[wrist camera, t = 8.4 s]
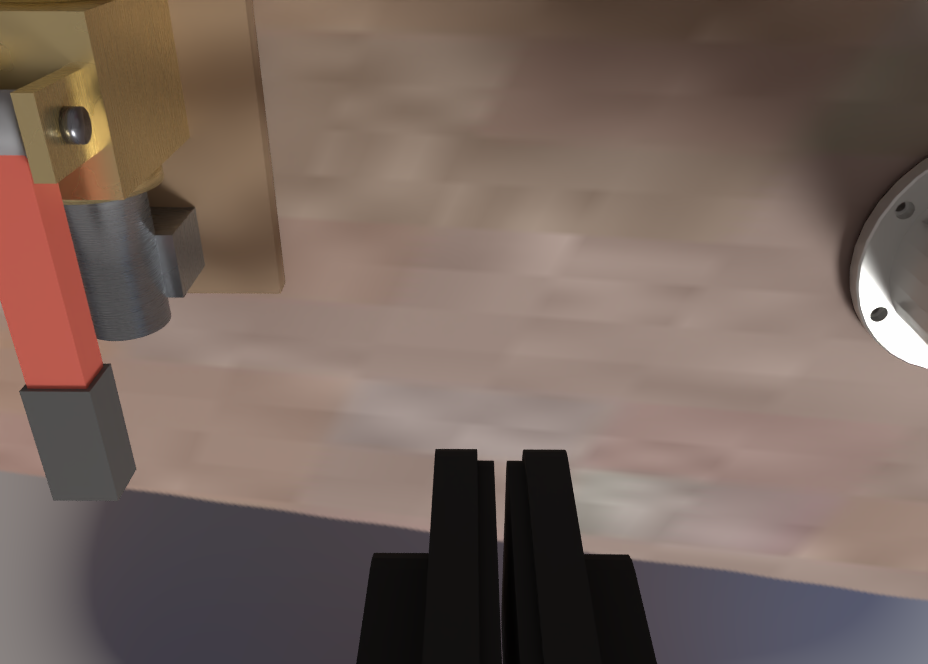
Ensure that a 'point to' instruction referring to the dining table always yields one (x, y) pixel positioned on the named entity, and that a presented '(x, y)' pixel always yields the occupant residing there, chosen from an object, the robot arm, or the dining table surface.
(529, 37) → the dining table surface
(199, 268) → the valve
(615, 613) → the robot arm
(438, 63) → the dining table surface
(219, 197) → the mount board
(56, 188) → the lever
